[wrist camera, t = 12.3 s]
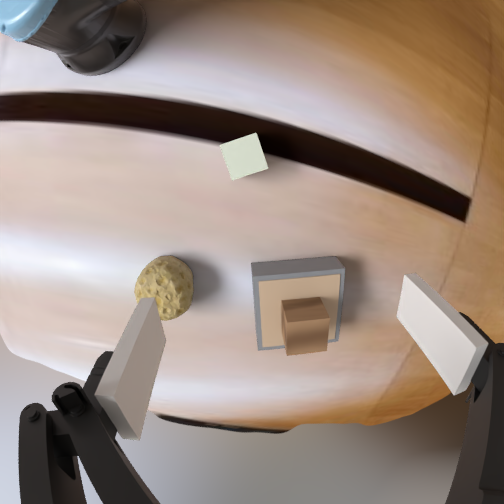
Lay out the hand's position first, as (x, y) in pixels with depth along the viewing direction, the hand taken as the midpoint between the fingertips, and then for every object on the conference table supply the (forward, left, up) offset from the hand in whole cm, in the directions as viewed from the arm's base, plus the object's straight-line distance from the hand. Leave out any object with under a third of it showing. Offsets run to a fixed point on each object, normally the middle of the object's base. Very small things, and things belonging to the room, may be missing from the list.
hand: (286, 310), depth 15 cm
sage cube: (-6, -1, -32) cm, 32 cm away
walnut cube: (+18, +6, -26) cm, 32 cm away
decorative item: (+13, -15, -32) cm, 37 cm away
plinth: (+18, +6, -31) cm, 37 cm away
